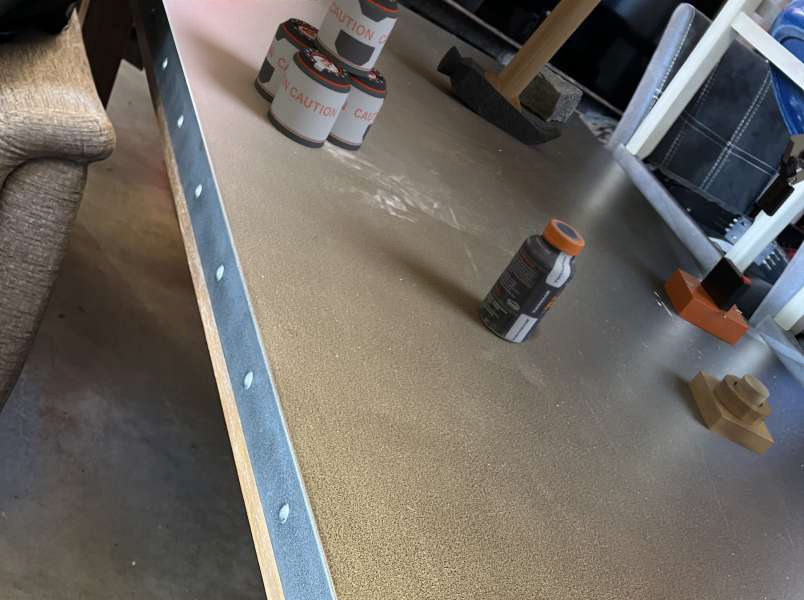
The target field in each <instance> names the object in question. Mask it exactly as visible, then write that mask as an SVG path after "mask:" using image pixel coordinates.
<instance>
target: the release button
mask: <svg viewBox="0 0 804 600" xmlns="http://www.w3.org/2000/svg"><path fill="white" fill-rule="evenodd" d="M734 387H735V389H736V390H737V391H738V392H739V393H740V395H741V396H742V397H743V398H745V399H746V400H747V401H749V402H750V403H751V404H753V405H755V406H757V407H759V406H760V405H761V404H762V402H763V401H764V400H765V399H766V400H767V399H768V398H769V397H770V391H769V389H768V388H767V387H766V385H764V384H763V383H762V381H760V380H759V379H757V378H756V377H754V376H753V375H750V374H749V373H747V374H744V375H743V376H742V377H741V379H740V380H739V381H738V383H737V384H736V385H735V386H734Z"/></svg>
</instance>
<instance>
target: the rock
mask: <svg viewBox="0 0 804 600" xmlns="http://www.w3.org/2000/svg"><path fill="white" fill-rule="evenodd" d="M583 94H584V92H583V91H582V90H581V89H580V88H578V86H576V85H574V84H572V83H571V82H568V81H567V80H566V79H564V78H563V77H561V75H560V74H556V73H554V72H553V71H552V70H551V69H550V68H548V67H547V66H544V67H543V68H542V69H541V70H540V71H539V72H538V74H537V75H536V76H535V77H534V78H533V79H532V81H531V82H530V83H529V84H528V85H527V86H526V87H525V89H524V90H523V91H522V92H521V93H520V94H519V101H520V104H522V105H524V106H525V107H528V108H529V109H530V110H531V111H532V113H534V114H537V115H539V116H540V117H541V119H542V120H543V121H544V122H546V123H550V122H551V121H552V120H553V121H554V122H556V121H557V122H559V123H563V124H566V123H567V120H568V119H569V118H570V116H571V115H572V114H573V112H574V111H575V109H576V108H577V107H578V104H579V103H580V101H581V100H582V96H583Z"/></svg>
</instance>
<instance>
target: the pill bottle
mask: <svg viewBox="0 0 804 600" xmlns="http://www.w3.org/2000/svg"><path fill="white" fill-rule="evenodd" d="M584 246H585V240H584V238H583V237H582V236H581V234H580V233H579V232H578V231H577V230H575V228H573V227H572V226H570V225H569V224H567V223H566V222H564V221H561V220H559V219H556V218H552V219H550V221H549V222H548V223H547V225H546V226H545V227H544V229H543V231H542V234H532V235H529V236H528V237H526V238H525V240H524V241H523V242H522V243H521V245H520V247H519V248H518V249H517V251H516V252H515V253H514V255H513V256H512V257H511V259H510V260H509V262H508V264H507V265H506V267H505V268H504V269H503V271H502V272H501V274H500V275H499V277H498V278H497V280H496V281H495V283H494V284H493V285H492V287H491V289H490V290H489V292H488V293H487V294H486V296H485V297H484V299H483V300H482V302H481V303H480V305H479V307H478V314H479V316H480V319H481V320H482V322H483V323H484V324H485V325H486V326H487V328H489V330H491V331H492V332H494V333H495V334H496V335H497V336H499V337H501V338H502V339H504V340H506V341H508V342H511V343H518V344H522V343H524V342H526V341H527V340H528V339H529V338H530V336H531V335H532V333H533V332H534V331H535V330H536V328H537V327H538V326H539V324H540V323H541V322H542V320H543V318H544V317H545V316H546V315H547V313H548V312H549V310H550V309H551V308H552V307H553V305H554V304H555V303H556V301H557V300H558V298H559V297H560V295H562V293H563V292H564V290H565V289H566V287H567V286H568V285H569V283H570V282H571V281H572V279H573V278H574V277H575V275H576V272H577V265H576V263H575V258H576V257H577V256H579V254H580V252H581V250H582V249H583V248H584Z"/></svg>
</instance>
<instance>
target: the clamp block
mask: <svg viewBox="0 0 804 600" xmlns="http://www.w3.org/2000/svg"><path fill="white" fill-rule="evenodd" d="M704 278H705V277H703V278H702V280H700V279H698V278H696V277H695V276H693V275H692V274H690V273H687V272H686V271H684V270H682V269H681V268H679V267H678V268H677V269H676V270H675V271H674V273H673V274H672V275H671V276H670V278H669V279H668V280H667V281H666V282H665V284H664V285H663V287H664V290H665V292H666V293H667V295H668V297H669V300H670V302H671V304H672V306H673V308H674V310H675V312H676V314H677V316H678V317H679V318H681V319H683V320H685V321H687V322H689V323H691V324H693V325H695V326H697V327H698V328H699V329H702V330H704V331H706V332H708V333H709V334H711V335H713V336H714V337H716V338H719V339H720V340H722V341H724V342H726V343H728V344H729V345H731V346H735V345H736V343H738V341H739V340H741V338H742V337H743V336H744V334H746V332H747V331H749V330H750V328H749V326H748V324H747V322H746V321H745V319H744V317H743V316H742V314H743V312H742V311H740V310H739V308H738V306H737V304H735V305H734V306H733V307H732V308H731V309H730V310H729V311H728V312H726V311H723V310H721V309H720V308H719V307H718V306H717V304H716V303H715V302H714V300H713V299H712V298H711V297H710V295H709V294H708V293H707V291H706V290H705V289H704V287H703V286H702V285H701V282H702V281H703V279H704Z"/></svg>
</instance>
